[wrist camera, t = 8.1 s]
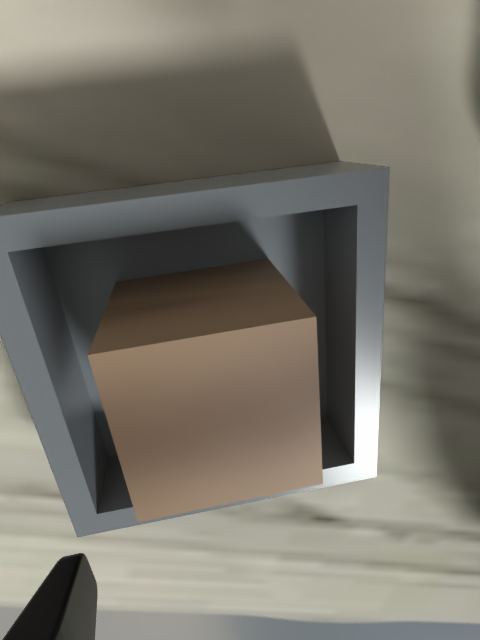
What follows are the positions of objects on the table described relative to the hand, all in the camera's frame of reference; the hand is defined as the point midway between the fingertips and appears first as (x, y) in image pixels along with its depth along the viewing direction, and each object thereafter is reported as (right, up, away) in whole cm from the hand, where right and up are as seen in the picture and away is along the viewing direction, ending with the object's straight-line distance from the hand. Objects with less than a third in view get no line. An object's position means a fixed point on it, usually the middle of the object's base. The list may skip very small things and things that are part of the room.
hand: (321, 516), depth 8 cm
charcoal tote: (-3, +3, +10) cm, 11 cm away
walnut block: (-3, +3, +9) cm, 10 cm away
